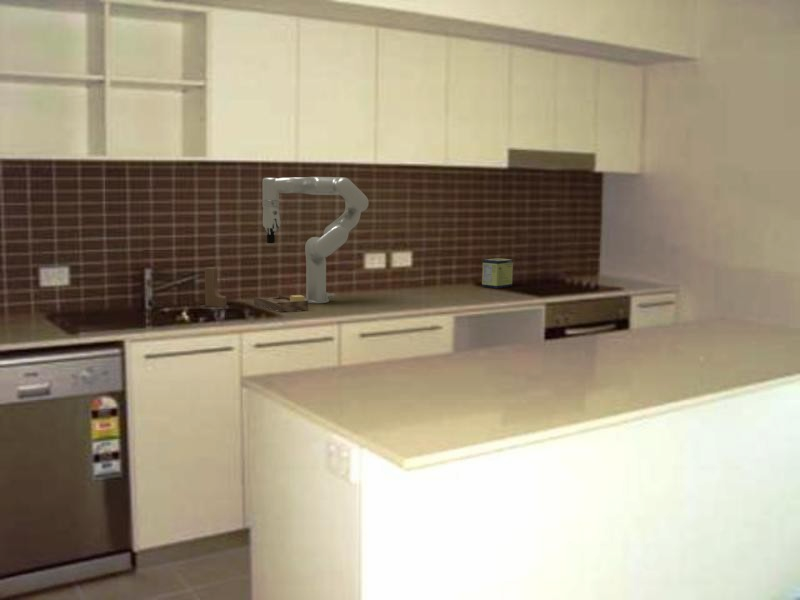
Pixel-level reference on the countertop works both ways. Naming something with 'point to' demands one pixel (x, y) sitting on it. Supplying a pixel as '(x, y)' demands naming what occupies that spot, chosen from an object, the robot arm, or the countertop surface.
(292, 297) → the block
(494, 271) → the protein box
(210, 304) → the wooden block
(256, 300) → the trap board
